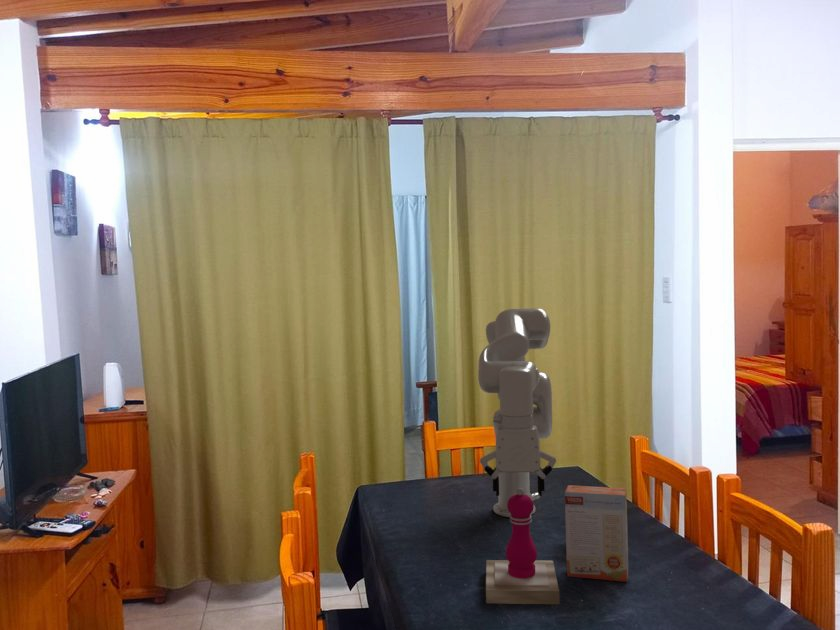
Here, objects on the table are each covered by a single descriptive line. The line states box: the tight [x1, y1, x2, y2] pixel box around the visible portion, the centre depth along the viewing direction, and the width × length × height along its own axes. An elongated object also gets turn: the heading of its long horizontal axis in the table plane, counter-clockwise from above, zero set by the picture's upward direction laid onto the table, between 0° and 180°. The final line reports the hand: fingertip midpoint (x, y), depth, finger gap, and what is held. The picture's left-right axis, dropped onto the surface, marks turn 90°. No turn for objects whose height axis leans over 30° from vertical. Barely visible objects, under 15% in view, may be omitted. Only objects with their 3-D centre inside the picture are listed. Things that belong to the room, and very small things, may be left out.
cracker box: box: [564, 484, 629, 583], centre depth 170 cm, size 14×6×21 cm, turn 71°
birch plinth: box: [485, 559, 560, 605], centre depth 165 cm, size 16×16×3 cm
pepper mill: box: [505, 488, 538, 578], centre depth 165 cm, size 7×7×20 cm
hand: (518, 494), depth 164 cm, fingers open, 9 cm apart
